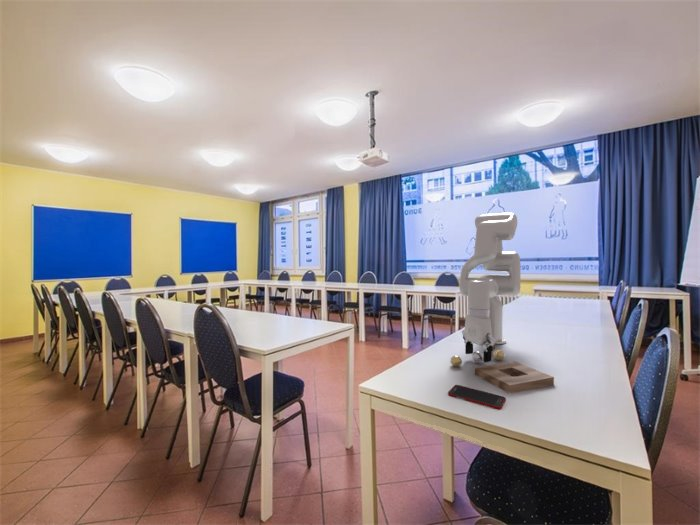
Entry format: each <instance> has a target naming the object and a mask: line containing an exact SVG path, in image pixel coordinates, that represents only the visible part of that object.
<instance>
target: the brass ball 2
mask: <svg viewBox="0 0 700 525" xmlns="http://www.w3.org/2000/svg"><path fill="white" fill-rule="evenodd" d="M492 353H493V358H494V359H495V360H496V361H503V360H504V358H505V357H506V356H505V353H504V351H503V350H501V349H495V350H493V352H492Z"/></svg>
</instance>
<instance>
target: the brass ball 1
mask: <svg viewBox="0 0 700 525" xmlns="http://www.w3.org/2000/svg"><path fill="white" fill-rule="evenodd" d="M462 360H463V359H462V358H461V357H460V356H459V355H453V356H452V357H450V363H451V365H452V366H453V367H455V368H458V367H460V366H462V365H463V364H462V363H463V361H462Z"/></svg>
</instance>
